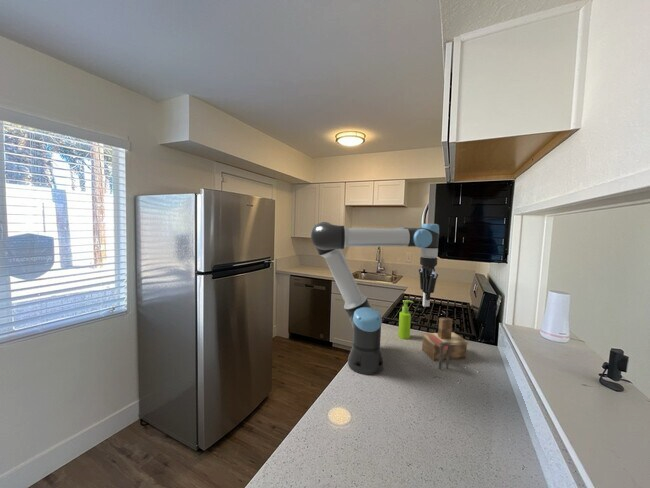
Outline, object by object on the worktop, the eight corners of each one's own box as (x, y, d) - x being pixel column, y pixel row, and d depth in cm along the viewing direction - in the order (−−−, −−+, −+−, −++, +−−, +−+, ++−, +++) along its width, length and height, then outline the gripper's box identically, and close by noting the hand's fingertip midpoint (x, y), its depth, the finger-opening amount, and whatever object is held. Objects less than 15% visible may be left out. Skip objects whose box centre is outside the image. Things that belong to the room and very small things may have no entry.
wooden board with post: (434, 348, 121) (435, 324, 120) (421, 338, 131) (423, 315, 130) (467, 346, 124) (469, 322, 123) (453, 336, 134) (454, 314, 133)
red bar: (443, 350, 114) (443, 346, 114) (428, 338, 125) (429, 334, 125) (447, 349, 115) (447, 345, 114) (432, 338, 125) (433, 334, 125)
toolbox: (439, 369, 115) (441, 343, 114) (419, 350, 132) (420, 327, 130) (476, 366, 118) (478, 341, 117) (451, 348, 135) (453, 325, 133)
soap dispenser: (413, 339, 143) (415, 302, 141) (399, 339, 143) (401, 302, 141) (409, 334, 149) (411, 299, 147) (397, 334, 149) (398, 298, 147)
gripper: (444, 258, 122) (441, 310, 124) (428, 254, 135) (425, 301, 137) (429, 259, 120) (426, 310, 123) (414, 254, 133) (412, 302, 136)
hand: (425, 305), depth 130 cm, fingers closed
